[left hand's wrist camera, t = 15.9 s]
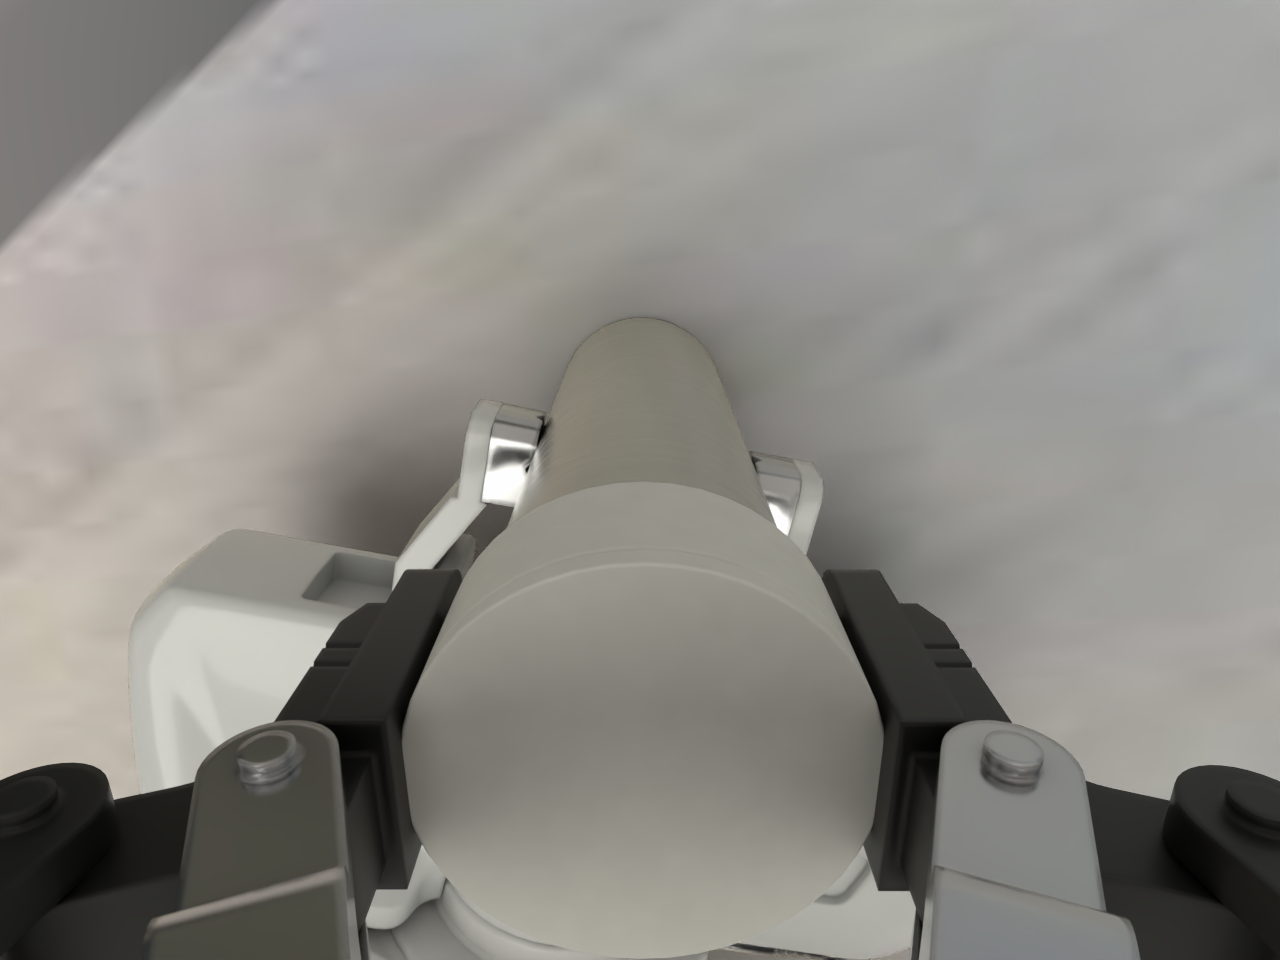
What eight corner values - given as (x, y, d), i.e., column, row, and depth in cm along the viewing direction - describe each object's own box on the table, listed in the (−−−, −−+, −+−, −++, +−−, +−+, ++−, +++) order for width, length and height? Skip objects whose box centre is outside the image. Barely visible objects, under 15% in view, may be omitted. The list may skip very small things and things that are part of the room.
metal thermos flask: (733, 329, 24) (892, 598, 9) (706, 480, 25) (802, 926, 10) (570, 306, 23) (449, 543, 8) (554, 460, 25) (426, 887, 10)
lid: (858, 480, 10) (917, 564, 8) (821, 818, 12) (862, 961, 10) (429, 477, 10) (372, 561, 8) (460, 817, 12) (420, 959, 10)
